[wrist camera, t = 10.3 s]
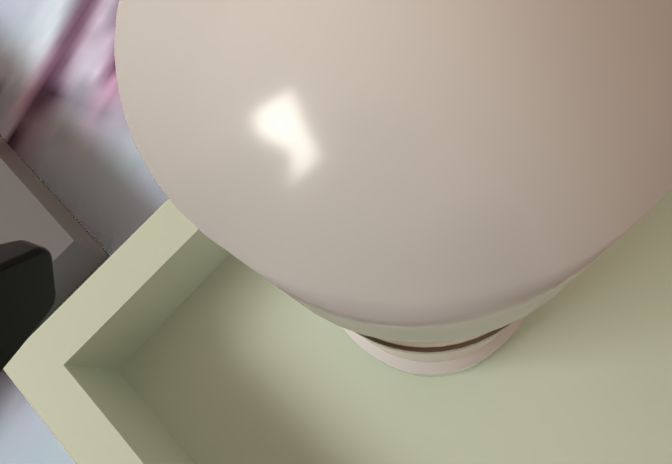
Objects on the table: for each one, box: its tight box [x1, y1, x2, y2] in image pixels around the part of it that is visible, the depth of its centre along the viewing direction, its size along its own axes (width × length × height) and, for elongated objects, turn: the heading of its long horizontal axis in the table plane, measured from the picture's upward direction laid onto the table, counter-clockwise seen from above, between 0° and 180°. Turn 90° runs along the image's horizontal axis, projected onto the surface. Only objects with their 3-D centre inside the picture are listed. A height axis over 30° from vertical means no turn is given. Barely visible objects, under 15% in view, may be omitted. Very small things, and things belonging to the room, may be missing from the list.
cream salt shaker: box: [114, 0, 672, 377], centre depth 11 cm, size 5×5×13 cm
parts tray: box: [3, 188, 672, 464], centre depth 16 cm, size 16×18×4 cm
